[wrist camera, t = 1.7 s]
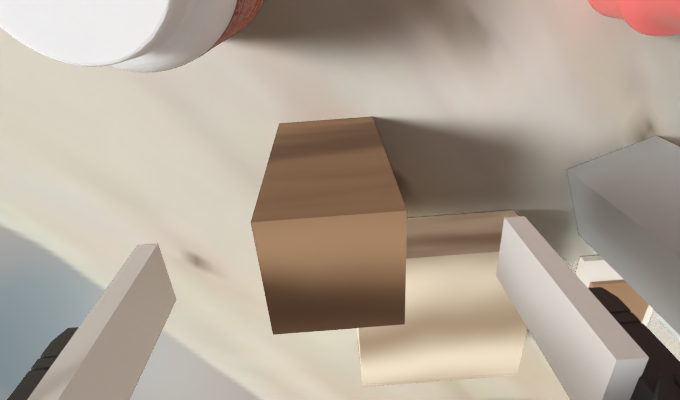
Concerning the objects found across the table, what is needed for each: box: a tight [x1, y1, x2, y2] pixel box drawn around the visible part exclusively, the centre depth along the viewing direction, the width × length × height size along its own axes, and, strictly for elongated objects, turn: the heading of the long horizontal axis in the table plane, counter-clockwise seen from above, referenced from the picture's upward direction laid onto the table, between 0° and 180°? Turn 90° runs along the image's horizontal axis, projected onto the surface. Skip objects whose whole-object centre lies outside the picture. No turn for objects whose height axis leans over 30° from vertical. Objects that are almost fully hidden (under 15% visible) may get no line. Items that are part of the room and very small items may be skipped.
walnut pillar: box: [251, 117, 407, 334], centre depth 19 cm, size 5×5×10 cm
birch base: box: [357, 210, 527, 387], centre depth 26 cm, size 10×10×4 cm
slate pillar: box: [567, 136, 680, 335], centre depth 20 cm, size 5×5×10 cm
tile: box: [576, 255, 654, 327], centre depth 28 cm, size 8×6×1 cm
